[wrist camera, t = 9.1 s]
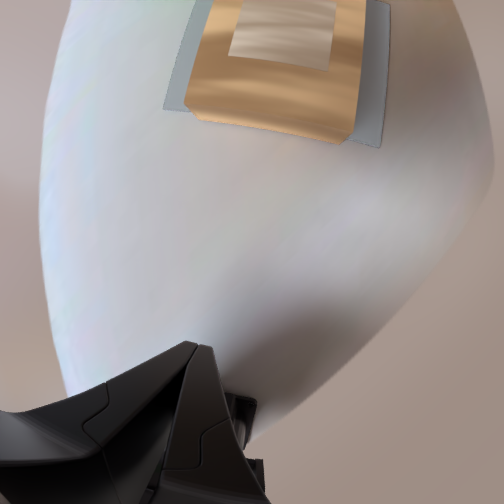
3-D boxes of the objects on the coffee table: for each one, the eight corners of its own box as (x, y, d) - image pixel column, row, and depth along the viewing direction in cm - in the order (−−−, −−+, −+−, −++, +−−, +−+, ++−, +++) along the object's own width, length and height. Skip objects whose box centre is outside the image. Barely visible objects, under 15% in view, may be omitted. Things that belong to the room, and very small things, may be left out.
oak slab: (353, 132, 16) (366, -13, 14) (183, 103, 16) (226, -35, 14) (339, 144, 20) (355, 14, 18) (199, 119, 20) (233, -6, 18)
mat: (378, 148, 20) (379, 147, 20) (163, 109, 21) (162, 108, 20) (388, 6, 18) (389, 4, 17) (206, -23, 18) (206, -25, 18)
